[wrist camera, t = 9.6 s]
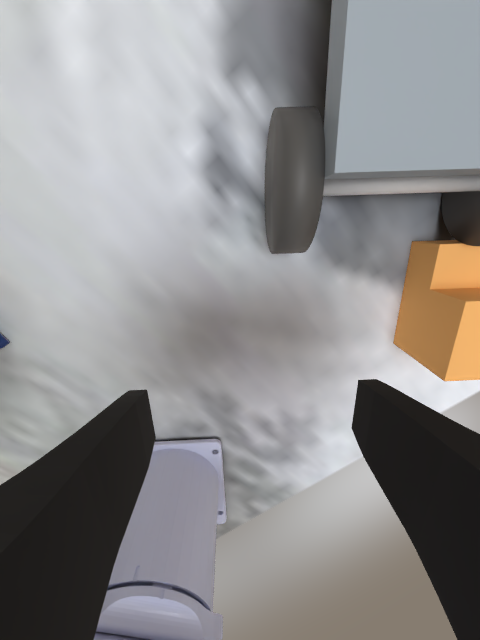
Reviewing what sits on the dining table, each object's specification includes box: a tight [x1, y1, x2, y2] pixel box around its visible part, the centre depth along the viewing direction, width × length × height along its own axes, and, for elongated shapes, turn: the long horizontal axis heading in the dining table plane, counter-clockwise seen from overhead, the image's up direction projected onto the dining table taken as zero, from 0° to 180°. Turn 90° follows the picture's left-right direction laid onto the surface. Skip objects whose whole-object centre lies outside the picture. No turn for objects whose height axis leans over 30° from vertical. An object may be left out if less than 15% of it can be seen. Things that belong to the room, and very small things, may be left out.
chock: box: [393, 240, 480, 381], centre depth 16 cm, size 7×4×5 cm, turn 2°
